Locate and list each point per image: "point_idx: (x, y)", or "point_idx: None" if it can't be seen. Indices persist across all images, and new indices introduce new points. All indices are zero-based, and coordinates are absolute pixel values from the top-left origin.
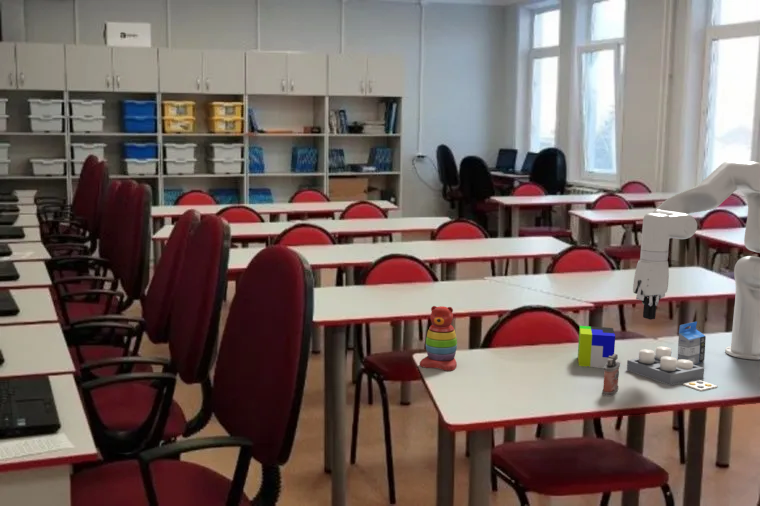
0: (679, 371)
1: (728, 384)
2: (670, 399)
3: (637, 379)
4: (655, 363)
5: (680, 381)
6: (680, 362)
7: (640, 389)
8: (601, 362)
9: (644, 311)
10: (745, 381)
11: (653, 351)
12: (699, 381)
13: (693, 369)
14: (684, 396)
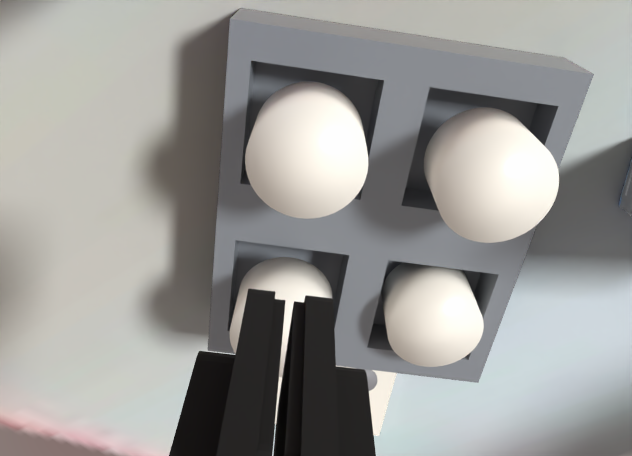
0: None
1: (460, 435)
2: (56, 402)
3: (141, 169)
4: None
5: None
6: (393, 325)
7: (26, 270)
8: None
9: (185, 401)
10: (562, 452)
11: (349, 192)
12: (368, 376)
13: (405, 365)
14: (144, 413)
